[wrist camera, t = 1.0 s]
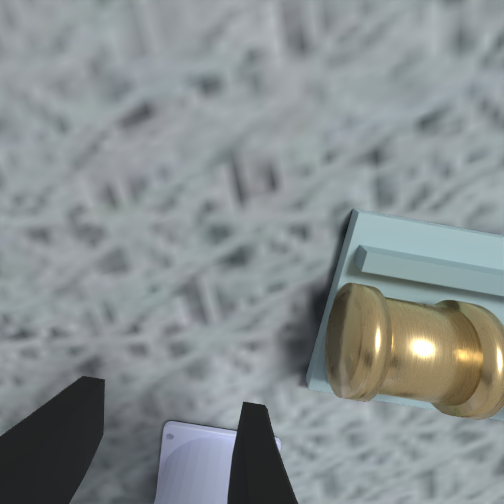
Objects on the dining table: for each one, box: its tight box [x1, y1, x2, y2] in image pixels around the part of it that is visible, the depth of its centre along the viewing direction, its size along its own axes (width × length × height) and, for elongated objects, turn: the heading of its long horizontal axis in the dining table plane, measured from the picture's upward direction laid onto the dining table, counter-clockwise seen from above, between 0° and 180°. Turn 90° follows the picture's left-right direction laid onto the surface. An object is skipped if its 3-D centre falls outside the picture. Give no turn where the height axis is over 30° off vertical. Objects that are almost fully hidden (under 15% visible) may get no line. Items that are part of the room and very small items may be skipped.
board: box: [306, 209, 504, 421], centre depth 17 cm, size 11×15×2 cm
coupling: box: [325, 282, 504, 420], centre depth 15 cm, size 6×5×5 cm
